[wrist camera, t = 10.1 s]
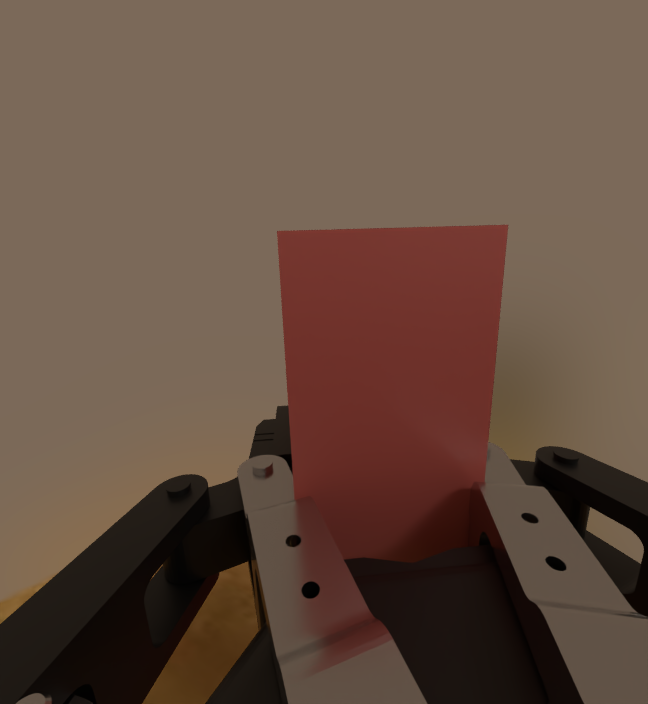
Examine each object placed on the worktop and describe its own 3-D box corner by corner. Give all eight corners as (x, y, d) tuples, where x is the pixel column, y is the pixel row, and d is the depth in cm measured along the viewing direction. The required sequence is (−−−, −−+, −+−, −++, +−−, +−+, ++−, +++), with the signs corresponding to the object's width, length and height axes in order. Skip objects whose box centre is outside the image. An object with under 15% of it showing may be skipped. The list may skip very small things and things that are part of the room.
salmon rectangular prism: (394, 609, 16) (401, 246, 12) (454, 811, 10) (508, 224, 6) (307, 619, 15) (285, 250, 11) (315, 834, 9) (277, 231, 6)
